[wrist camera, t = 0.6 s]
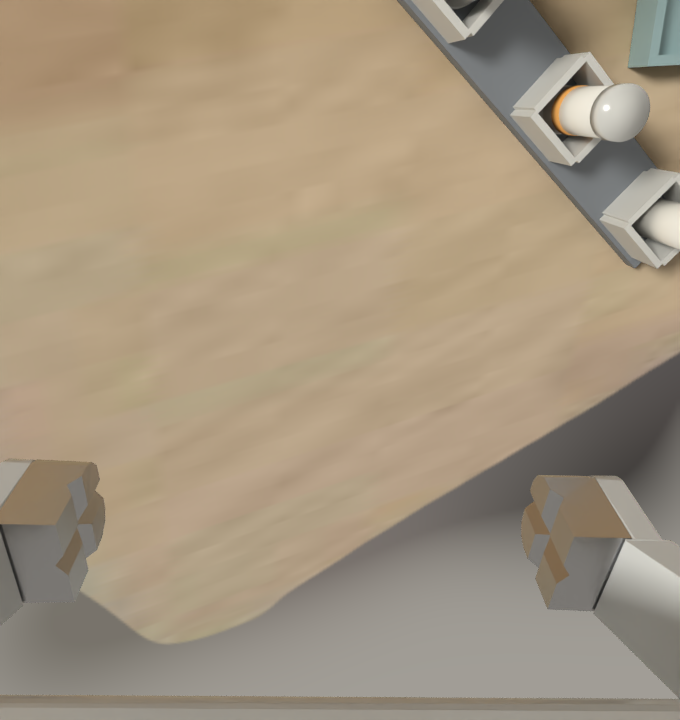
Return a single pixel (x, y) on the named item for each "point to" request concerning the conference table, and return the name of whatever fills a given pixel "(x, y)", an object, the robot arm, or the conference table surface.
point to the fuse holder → (520, 115)
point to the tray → (656, 34)
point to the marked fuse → (598, 111)
